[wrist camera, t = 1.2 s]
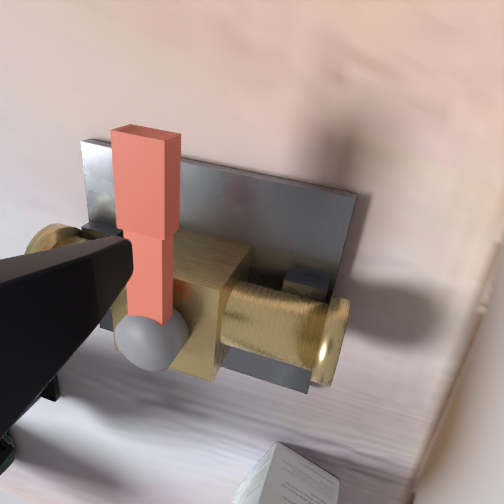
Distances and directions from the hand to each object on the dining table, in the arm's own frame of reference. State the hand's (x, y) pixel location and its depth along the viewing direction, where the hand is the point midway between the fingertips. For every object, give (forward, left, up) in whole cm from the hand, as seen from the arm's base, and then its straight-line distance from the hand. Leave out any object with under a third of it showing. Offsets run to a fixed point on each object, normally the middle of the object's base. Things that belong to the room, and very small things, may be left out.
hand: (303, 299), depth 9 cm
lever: (-4, +7, -7) cm, 11 cm away
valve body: (-9, +7, -13) cm, 17 cm away
